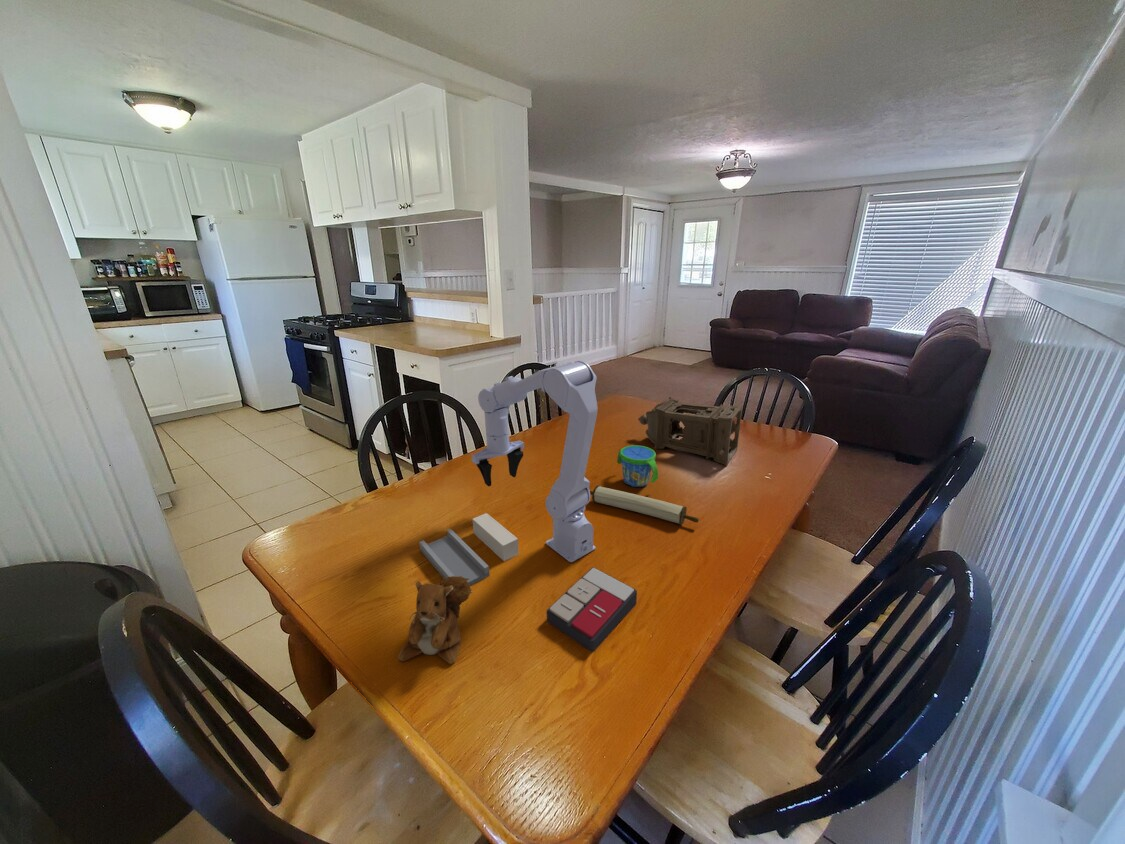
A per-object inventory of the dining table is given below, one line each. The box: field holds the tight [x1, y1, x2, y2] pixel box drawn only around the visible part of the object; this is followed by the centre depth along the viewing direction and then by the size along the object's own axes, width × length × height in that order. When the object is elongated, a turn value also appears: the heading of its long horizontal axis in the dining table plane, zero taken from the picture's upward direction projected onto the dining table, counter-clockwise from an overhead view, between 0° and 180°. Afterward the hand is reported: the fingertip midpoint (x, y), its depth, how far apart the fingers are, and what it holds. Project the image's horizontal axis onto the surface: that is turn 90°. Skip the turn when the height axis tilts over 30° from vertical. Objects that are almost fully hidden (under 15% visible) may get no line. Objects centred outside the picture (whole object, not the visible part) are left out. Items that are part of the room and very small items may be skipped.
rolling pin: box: [590, 484, 700, 526], centre depth 115 cm, size 32×6×5 cm, turn 62°
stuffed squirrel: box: [397, 576, 473, 665], centre depth 76 cm, size 10×14×13 cm
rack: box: [418, 528, 490, 586], centre depth 96 cm, size 18×8×2 cm, turn 40°
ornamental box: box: [637, 396, 743, 467], centre depth 153 cm, size 35×18×18 cm, turn 56°
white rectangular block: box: [472, 512, 520, 562], centre depth 103 cm, size 14×4×4 cm, turn 40°
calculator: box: [546, 566, 638, 653], centre depth 83 cm, size 11×4×15 cm
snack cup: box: [616, 444, 659, 488], centre depth 130 cm, size 16×10×10 cm
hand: (500, 480), depth 113 cm, fingers open, 7 cm apart
